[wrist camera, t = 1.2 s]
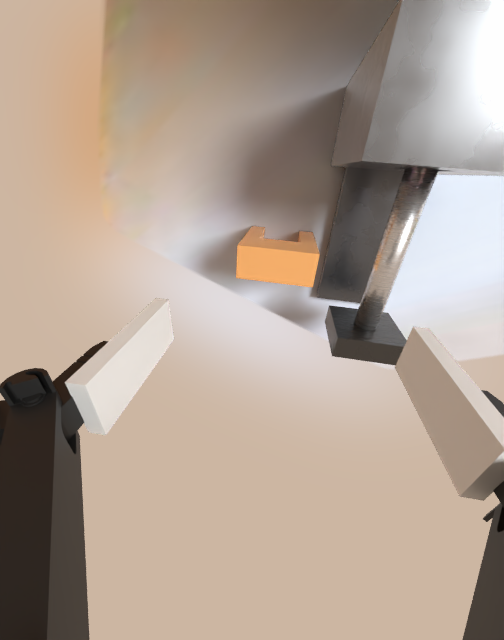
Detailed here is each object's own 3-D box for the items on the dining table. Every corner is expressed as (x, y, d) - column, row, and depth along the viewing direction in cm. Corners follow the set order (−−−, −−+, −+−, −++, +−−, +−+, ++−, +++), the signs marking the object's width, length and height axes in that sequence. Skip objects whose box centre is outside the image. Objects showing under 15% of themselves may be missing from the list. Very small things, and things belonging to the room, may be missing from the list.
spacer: (252, 225, 29) (237, 245, 22) (312, 232, 29) (319, 254, 21) (250, 251, 31) (236, 278, 23) (307, 258, 30) (312, 287, 22)
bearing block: (346, 86, 22) (404, -7, 11) (466, 93, 21) (670, 0, 10) (305, 292, 32) (311, 359, 21) (384, 302, 32) (437, 377, 20)
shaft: (367, 159, 20) (393, 154, 15) (448, 165, 19) (504, 163, 14) (324, 321, 27) (332, 356, 22) (381, 329, 27) (402, 366, 22)
